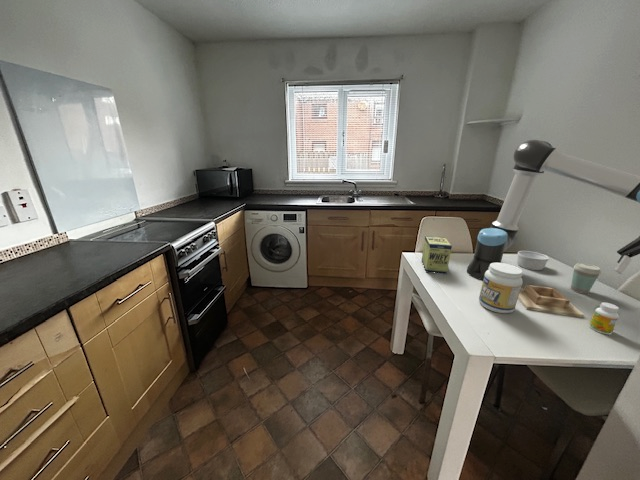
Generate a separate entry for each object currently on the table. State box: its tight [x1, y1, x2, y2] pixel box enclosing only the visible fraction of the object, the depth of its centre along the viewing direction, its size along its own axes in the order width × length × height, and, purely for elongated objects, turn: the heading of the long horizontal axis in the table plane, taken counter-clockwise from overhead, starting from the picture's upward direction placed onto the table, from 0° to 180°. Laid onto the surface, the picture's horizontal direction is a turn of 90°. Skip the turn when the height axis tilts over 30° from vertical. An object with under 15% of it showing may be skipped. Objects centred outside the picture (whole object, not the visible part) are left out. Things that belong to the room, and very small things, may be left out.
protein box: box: [421, 235, 453, 275], centre depth 134 cm, size 10×16×16 cm
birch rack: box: [517, 284, 585, 318], centre depth 103 cm, size 18×16×5 cm
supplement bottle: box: [588, 302, 620, 335], centre depth 86 cm, size 5×5×10 cm
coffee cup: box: [570, 262, 602, 295], centre depth 112 cm, size 8×8×12 cm
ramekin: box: [516, 250, 550, 271], centre depth 138 cm, size 13×13×7 cm
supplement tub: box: [478, 262, 524, 314], centre depth 99 cm, size 12×12×17 cm
